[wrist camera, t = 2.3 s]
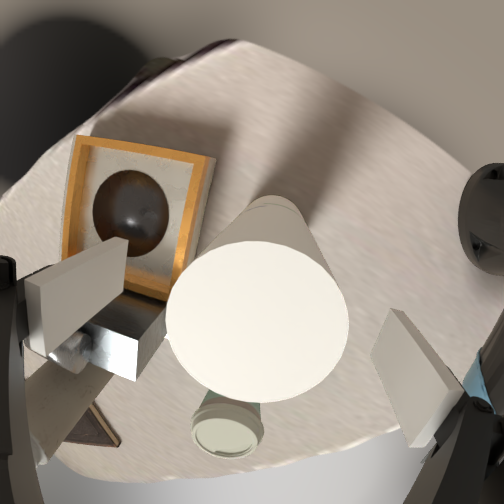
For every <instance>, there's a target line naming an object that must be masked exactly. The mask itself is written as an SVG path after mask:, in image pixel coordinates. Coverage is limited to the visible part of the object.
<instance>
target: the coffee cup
mask: <svg viewBox="0 0 504 504" xmlns="http://www.w3.org/2000/svg"><path fill="white" fill-rule="evenodd" d="M190 428H191V432H192V438H193V441H194V442H195V444H196V445H197V446H198V447H199V448H200V449H201V450H203V451H204V452H206V453H208V454H210V455H212V456H215V457H218V458H223V459H239V458H243V457H246V456H248V455H250V454H252V453H253V452H254V451H255V450H256V448H257V446H258V445H259V444H260V442H261V441H262V438H263V435H264V427H263V424H262V422H261V415H260V403H258V402H245V401H240V400H235V399H231V398H228V397H226V396H223V395H220V394H218V393H215V392H214V391H212V390H210V389H209V391H208V392H207V394H206V396H205V398H204V400H203V402H202V403H201V405H200V407H199V409H198V410H196V411H195V412H194V414H193V415H192V417H191V424H190Z"/></svg>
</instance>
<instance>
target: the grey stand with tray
mask: <svg viewBox="0 0 504 504" xmlns="http://www.w3.org/2000/svg"><path fill="white" fill-rule="evenodd" d="M216 161H217V159H216V158H212V157H207V156H203V155H198V154H193V153H188V152H183V151H178V150H173V149H167V148H162V147H156V146H150V145H145V144H139V143H132V142H126V141H120V140H113V139H106V138H99V137H91V136H83V135H74V138H73V143H72V148H71V153H70V159H69V164H68V170H67V177H66V184H65V191H64V199H63V208H62V219H61V231H60V246H59V262H61V261H63V260H65V259H67V258H69V257H71V256H73V255H76V254H78V253H80V252H82V251H84V250H86V249H89V248H91V247H93V246H95V245H97V244H100V243H102V242H104V241H106V240H109V239H111V238H113V237H119V238H122V239H126V240H129V241H128V249H127V257H126V266H125V275H124V285H123V292H122V293H121V294H119V295H118V296H117V297H116V298H114V299H113V300H112V301H111V302H110V303H108V304H107V305H106V306H105V307H104V308H102V309H101V310H100V311H99V312H98V313H96V314H95V315H94V316H93V317H92V318H91V319H89V320H88V321H87V322H86V323H85V324H84V325H82V326H81V327H80V328H79V329H78V330H77V331H75V332H74V333H73V334H72V335H71V336H70V337H68V338H67V339H66V340H65V341H64V342H63V343H62V344H60V345H59V346H58V347H57V348H56V349H55V350H54V351H53V352H51V353H50V354H49V355H48V356H47V357H44V356H43V355H41V354H39V353H37V352H35V351H34V350H32V349H31V346H30V339H29V336H28V337H26V338H25V339H24V343H25V346H26V347H27V348H28V349H30V350H31V351H33V352H35V353H37V354H38V355H40V356H42V357H44V358H46V359H47V360H49V361H51V362H53V363H55V364H57V365H59V366H61V367H63V368H65V369H67V370H69V371H71V372H73V373H75V374H78V373H80V372H81V371H82V370H83V369H84V368H85V366H86V364H87V362H89V363H92V364H94V365H96V366H99V367H101V368H103V369H106V370H108V371H110V372H113V373H115V374H118V375H120V376H123V377H125V378H128V379H130V380H133V381H136V380H137V378H138V377H139V375H140V374H141V372H142V371H143V369H144V368H145V366H146V365H147V363H148V362H149V360H150V359H151V358H152V356H153V355H154V353H155V352H156V350H157V349H158V347H159V346H160V344H161V343H162V341H163V340H164V338H168V336H167V329H166V321H165V319H166V308H167V302H168V299H169V296H170V293H171V290H172V288H173V286H174V285H175V283H176V281H177V280H178V278H179V277H180V275H181V273H182V272H183V271H184V270H185V269H186V268H187V267H188V266H189V265H190V264H191V263H192V262H193V261H194V260H195V255H196V250H197V245H198V240H199V236H200V231H201V226H202V221H203V217H204V212H205V208H206V203H207V199H208V194H209V190H210V186H211V181H212V177H213V173H214V169H215V165H216Z"/></svg>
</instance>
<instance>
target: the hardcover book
mask: <svg viewBox="0 0 504 504" xmlns="http://www.w3.org/2000/svg"><path fill="white" fill-rule="evenodd" d="M63 442H70V443H77V444H85V445H94V446H105V447H119V446H120V444H121V443H120V442H119V441H118V440H117V438H116V437H115V436H114V434H113V433H112V432H111V430H110V429H109V427H108V426H107V425H106V423H105V422H104V420H103V419H102V417H101V416H100V414H99V413H98V411H97V410H96V408H95V407H94V405H93V404H91V405H90V406H89V407H88V409H87V410H86V411H85V413H84V414H83V415H82V417H81V418H80V419H79V421H78V422H77V423H76V425H75V426H74V427H73V429H72V430H71V431H70V433H69V434H68V435H67V437H66V438H65V439H64V440H63Z"/></svg>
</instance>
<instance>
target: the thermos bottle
mask: <svg viewBox="0 0 504 504" xmlns="http://www.w3.org/2000/svg"><path fill="white" fill-rule="evenodd" d="M114 374H115V373H113V372H110V371H108V370H106V369H103V368H101V367H99V366H96V365H94V364H92V363H89V362H87V364H86V366H85V368H84V369H83V370H82V371H81V372H80V373H78V374H75V373H73V372H71V371H69V370H67V369H65V368H63V367H61V366H59V365H57V364H55V363H53V362H51V361H49V360H48V361H47V362H46V363H44V364H43V365H42V366H41V367H40V368H39V369H38V370H37V371H36V372H35V373H33V374H32V375H31V376H30V377H29V378H28V379H27V380H26V381H25V396H26V408H27V418H28V426H29V434H30V440H31V447H32V452H33V458H34V463H35V468H36V469H37V467H38V464H42V465H43V464H46V463H47V462H48V461H49V460H50V458H51V457H52V456H53V454H54V453H55V452H56V450H57V449H58V447H59V446H60V445H61V443H62V442H63V440H64V439H65V438H66V437H67V435H68V434H69V433H70V431H71V430H72V429H73V427H74V426H75V425H76V423H77V422H78V421H79V419H80V418H81V417H82V415H83V414H84V413H85V411H86V410H87V409H88V407H89V406H90V405H91V404H92V402H93V401H94V400H95V398H96V397H97V396H98V394H99V393H100V392H101V391H102V389H103V388H104V387H105V385H106V384H107V383H108V382H109V380H110V379H111V378H112V376H113V375H114Z"/></svg>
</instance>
